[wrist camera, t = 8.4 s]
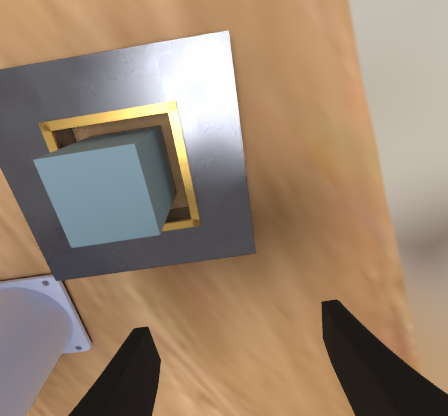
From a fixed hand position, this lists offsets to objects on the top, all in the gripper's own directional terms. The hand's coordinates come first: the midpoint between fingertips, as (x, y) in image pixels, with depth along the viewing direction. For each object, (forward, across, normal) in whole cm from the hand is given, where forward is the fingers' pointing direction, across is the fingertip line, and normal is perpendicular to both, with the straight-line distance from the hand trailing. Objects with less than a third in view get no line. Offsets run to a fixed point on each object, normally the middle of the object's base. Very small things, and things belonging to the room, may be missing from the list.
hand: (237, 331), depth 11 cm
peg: (+10, +5, -6) cm, 12 cm away
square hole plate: (+10, +5, -5) cm, 12 cm away
